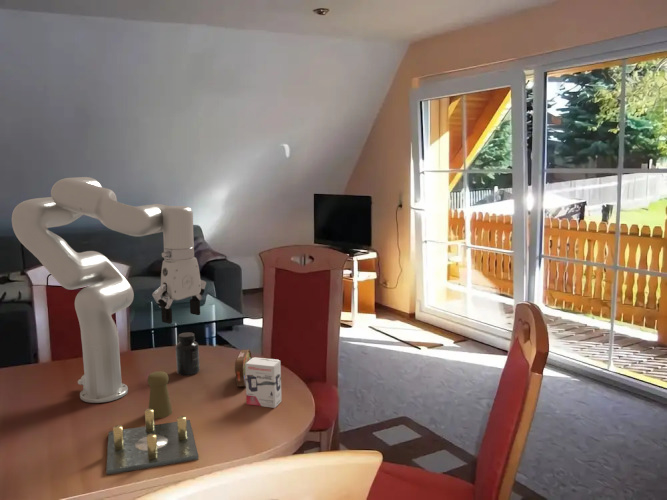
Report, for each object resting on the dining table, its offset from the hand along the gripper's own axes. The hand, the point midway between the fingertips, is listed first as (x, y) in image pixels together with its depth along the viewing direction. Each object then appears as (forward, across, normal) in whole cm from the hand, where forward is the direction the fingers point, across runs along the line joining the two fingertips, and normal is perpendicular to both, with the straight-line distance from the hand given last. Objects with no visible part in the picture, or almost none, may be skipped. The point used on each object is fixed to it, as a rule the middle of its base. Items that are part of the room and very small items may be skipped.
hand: (181, 318), depth 159 cm
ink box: (+24, +12, -18) cm, 32 cm away
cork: (+24, -7, +1) cm, 25 cm away
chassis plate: (+24, -21, -12) cm, 34 cm away
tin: (+24, +21, -2) cm, 32 cm away
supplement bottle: (+24, +18, +18) cm, 35 cm away
